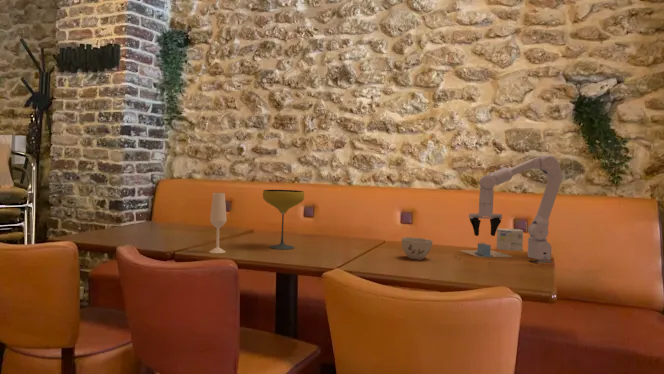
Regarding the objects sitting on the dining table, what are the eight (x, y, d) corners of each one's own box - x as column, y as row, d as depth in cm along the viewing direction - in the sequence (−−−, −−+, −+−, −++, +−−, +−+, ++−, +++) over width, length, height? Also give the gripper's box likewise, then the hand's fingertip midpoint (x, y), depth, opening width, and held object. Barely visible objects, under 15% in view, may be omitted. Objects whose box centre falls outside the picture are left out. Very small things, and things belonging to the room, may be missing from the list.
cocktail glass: (256, 245, 241) (257, 189, 240) (293, 243, 248) (295, 189, 247) (268, 251, 224) (270, 191, 223) (308, 250, 232) (310, 192, 231)
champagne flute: (227, 250, 222) (229, 193, 221) (223, 253, 216) (224, 193, 215) (212, 250, 223) (213, 192, 222) (206, 252, 216) (208, 193, 215)
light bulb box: (519, 252, 248) (520, 228, 247) (522, 254, 241) (524, 230, 241) (495, 250, 249) (496, 227, 249) (498, 253, 242) (499, 229, 242)
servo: (492, 260, 222) (493, 244, 222) (485, 260, 221) (486, 244, 221) (481, 256, 231) (482, 241, 230) (474, 256, 230) (475, 241, 230)
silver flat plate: (513, 260, 224) (513, 256, 224) (477, 260, 220) (478, 256, 220) (491, 253, 240) (492, 250, 240) (459, 253, 237) (459, 250, 237)
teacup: (427, 262, 212) (427, 242, 211) (396, 259, 217) (397, 239, 217) (436, 257, 225) (437, 238, 225) (407, 254, 231) (408, 235, 230)
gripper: (496, 203, 233) (495, 234, 233) (465, 202, 229) (464, 234, 230) (505, 204, 226) (503, 236, 226) (474, 203, 222) (472, 236, 223)
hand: (484, 235), depth 228 cm, fingers open, 7 cm apart
